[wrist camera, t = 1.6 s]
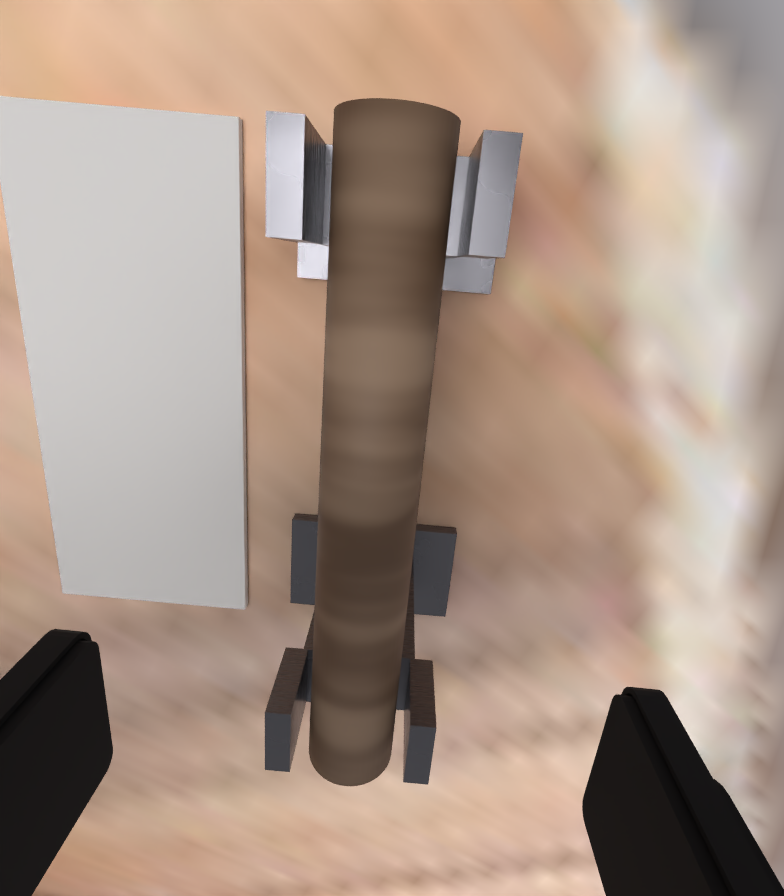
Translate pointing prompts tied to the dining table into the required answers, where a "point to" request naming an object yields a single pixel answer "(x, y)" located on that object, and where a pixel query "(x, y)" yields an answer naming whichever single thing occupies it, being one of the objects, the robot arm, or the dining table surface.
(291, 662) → the rack
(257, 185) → the dining table surface
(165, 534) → the mat
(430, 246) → the rod
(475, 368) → the dining table surface
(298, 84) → the dining table surface
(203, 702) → the dining table surface
